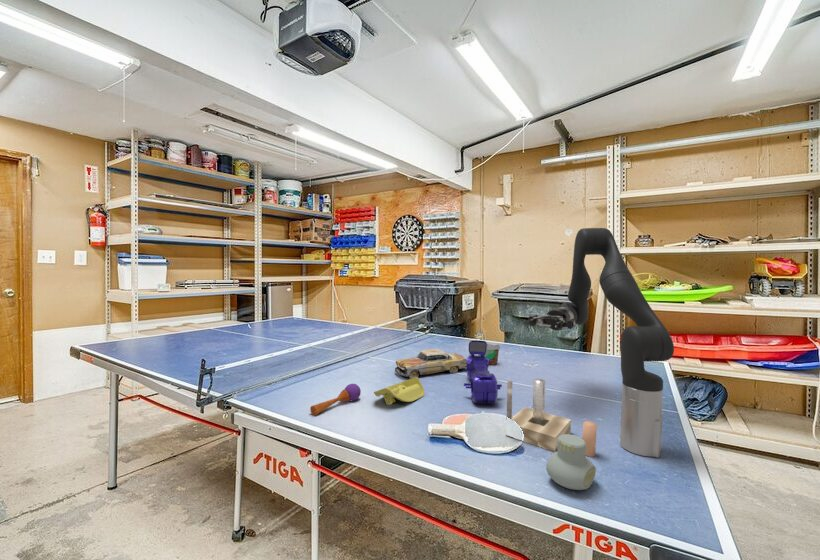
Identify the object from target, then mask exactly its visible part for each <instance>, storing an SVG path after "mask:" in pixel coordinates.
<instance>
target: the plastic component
mask: <svg viewBox="0 0 820 560" xmlns="http://www.w3.org/2000/svg"><path fill="white" fill-rule="evenodd" d="M422 384H423V383H422V382H421V381H420V378H419V377H418V378H417V377H415V378H412V379H410V378H409V379H406V380H403V381H401V382H398V383H396V384H393V385H389V386H387V387H384V388H381V389H379V390H375V391H374V392H373V395H375V396H376V397H380V396H383V398H384V401H385V405H386V406H388V405H391V404H393V403H396V400H399V401H400V402H404V403H411V402H414V401H416V400H418V399H420V398H423V397H424V396H425V395H426V393H425V389H424V386H423V385H422Z"/></svg>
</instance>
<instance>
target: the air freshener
mask: <svg viewBox="0 0 820 560" xmlns="http://www.w3.org/2000/svg"><path fill="white" fill-rule="evenodd" d="M582 438H583V437H580V436H577V435H574V434H571V433H570V434H564V435H561V436H559V437H558V449H557V450H556V451H555V452H553V453H552V454H551V455H550V456H549V458H548V460H547V462H546V466H545V470H546V472H547V475H548V476H549V478H551V480H552V481H553V482H554V483H556V484H557V485H559V486H561V487H563V488H566V489H570V490H574V491H583V490H588V488H590V487H591V485H592V483H594V479H595V477H596V473H597V469H596V466H595V465H594V463H593V462H592V461H591V459H589V458H588V457H587V456H586V443H585V441H584V440H583V439H582Z"/></svg>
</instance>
